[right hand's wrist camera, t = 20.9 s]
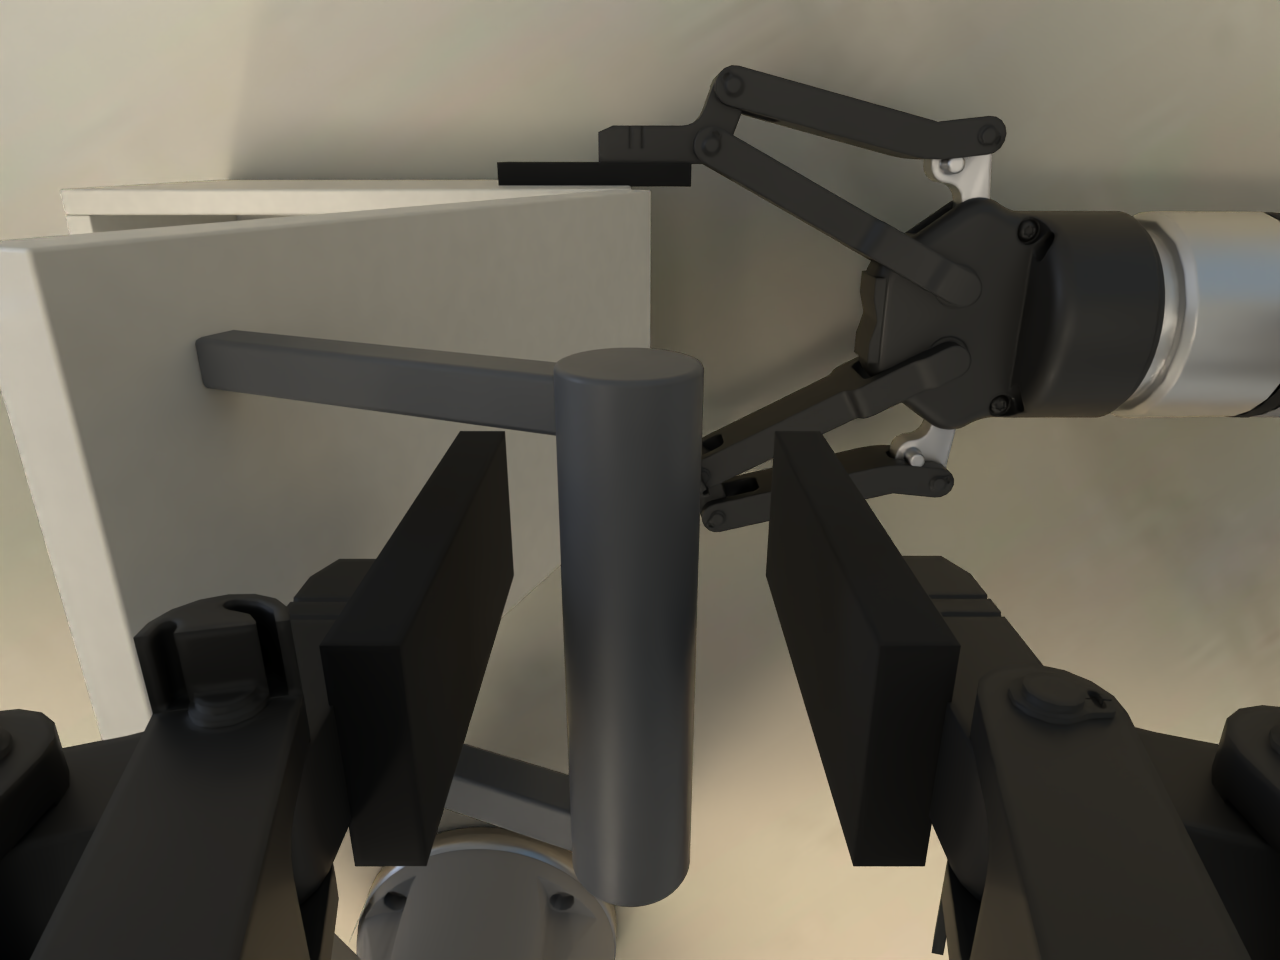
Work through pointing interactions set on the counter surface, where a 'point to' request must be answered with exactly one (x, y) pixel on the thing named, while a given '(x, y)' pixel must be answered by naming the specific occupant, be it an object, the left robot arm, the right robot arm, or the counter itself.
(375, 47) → the counter surface
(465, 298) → the lid
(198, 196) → the chest
